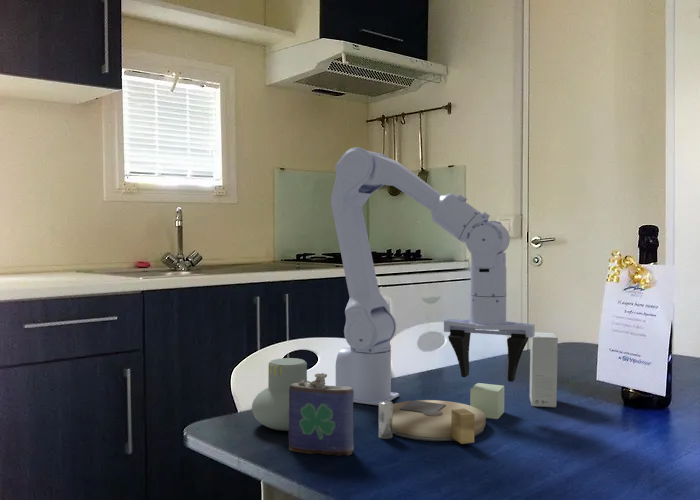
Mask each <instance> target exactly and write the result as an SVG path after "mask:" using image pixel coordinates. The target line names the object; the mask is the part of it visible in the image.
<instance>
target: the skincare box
mask: <svg viewBox="0 0 700 500" xmlns="http://www.w3.org/2000/svg"><path fill="white" fill-rule="evenodd" d="M558 340H559V339H558V336H557V335H556V334H555V332H540V331H535V336H534V337H532V338H530V349H529V353H530V354H529V356H530V357H529V359H530V360H529V400H530V405H531V406H532V407H545V408H556V407H557V403H558V401H557V399H558V398H557V397H558V391H557V390H558V353H559V352H558V350H559V349H558V348H559V347H558Z"/></svg>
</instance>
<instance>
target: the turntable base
mask: <svg viewBox="0 0 700 500" xmlns="http://www.w3.org/2000/svg"><path fill="white" fill-rule="evenodd" d="M393 404H394V403H393V402H392V401H381V402H379V405H378V438H379V439H381V440H388V439H389V440H390V439H392V438H393V435H395V436H398V437H401V438H404V439H409V440H416V441H423V442H424V441H425V442H426V441H427V442H454V441H455V442H457V441H456V440H455V439H453V438H451V437H446V438H433V437H420V436H412V435H407V434H402V433H399V432H396V431H393V430H392V407H393ZM484 430H485V427H484V428H483V429H482V430H481V431H479V432H476V433H474V438H475V437H477V436H479V435H480V434H482V433H483V432H484Z"/></svg>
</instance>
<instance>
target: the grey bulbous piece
mask: <svg viewBox="0 0 700 500" xmlns="http://www.w3.org/2000/svg"><path fill="white" fill-rule="evenodd" d="M307 370H308V363H307V361H305V359H302V358H295V357H285V358H284V357H283V358H282V357H281V358H274V359H272V360H270V361H269V363H268V382H267V383H268V387H266V388H265V389H263V390H262V391H260V392H258V394H257V395H256V396H255V398H254V399H253V401H252V404H251V413H252V415H253V417H254V418H255V420H256V421H257V422H259V423H260V425H262V426H264V427H266V428H269V429H271V430H276V431H283V432H289V388H290V385H291V384H293V383H299V382H301V381H302V380H305V382H304V383H307V381H308V371H307Z"/></svg>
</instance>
